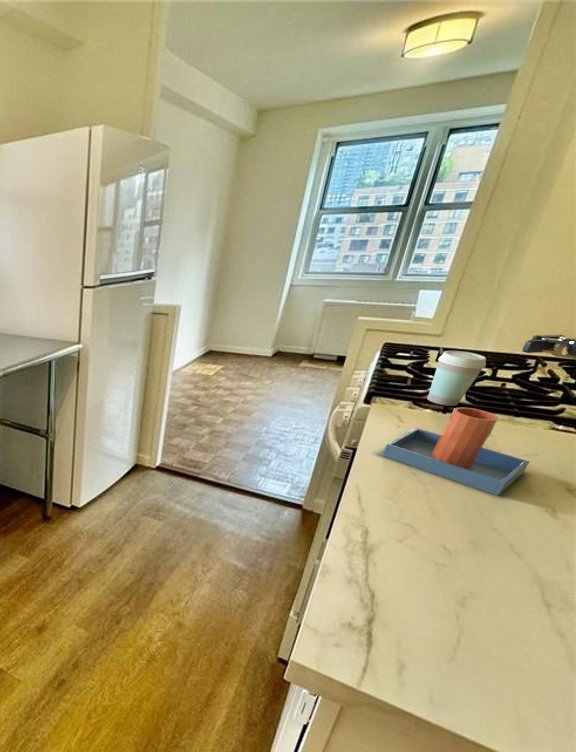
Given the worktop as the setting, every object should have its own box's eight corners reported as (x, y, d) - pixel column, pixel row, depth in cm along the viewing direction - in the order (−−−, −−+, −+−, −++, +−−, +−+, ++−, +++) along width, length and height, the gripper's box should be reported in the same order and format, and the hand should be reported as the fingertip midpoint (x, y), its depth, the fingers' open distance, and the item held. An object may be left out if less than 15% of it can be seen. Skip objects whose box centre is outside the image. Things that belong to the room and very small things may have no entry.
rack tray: (522, 473, 90) (530, 461, 89) (497, 495, 83) (505, 483, 82) (411, 438, 103) (416, 427, 101) (381, 455, 96) (386, 444, 95)
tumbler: (476, 463, 92) (503, 415, 87) (464, 472, 89) (492, 423, 84) (437, 451, 96) (461, 405, 92) (425, 459, 93) (449, 411, 89)
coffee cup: (459, 410, 116) (484, 362, 110) (415, 400, 122) (436, 353, 116) (469, 403, 120) (493, 356, 115) (426, 392, 126) (447, 348, 121)
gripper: (589, 320, 91) (519, 322, 89) (701, 338, 79) (623, 342, 76) (566, 358, 95) (499, 362, 92) (670, 382, 82) (595, 387, 80)
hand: (555, 353), depth 84 cm, fingers open, 8 cm apart
